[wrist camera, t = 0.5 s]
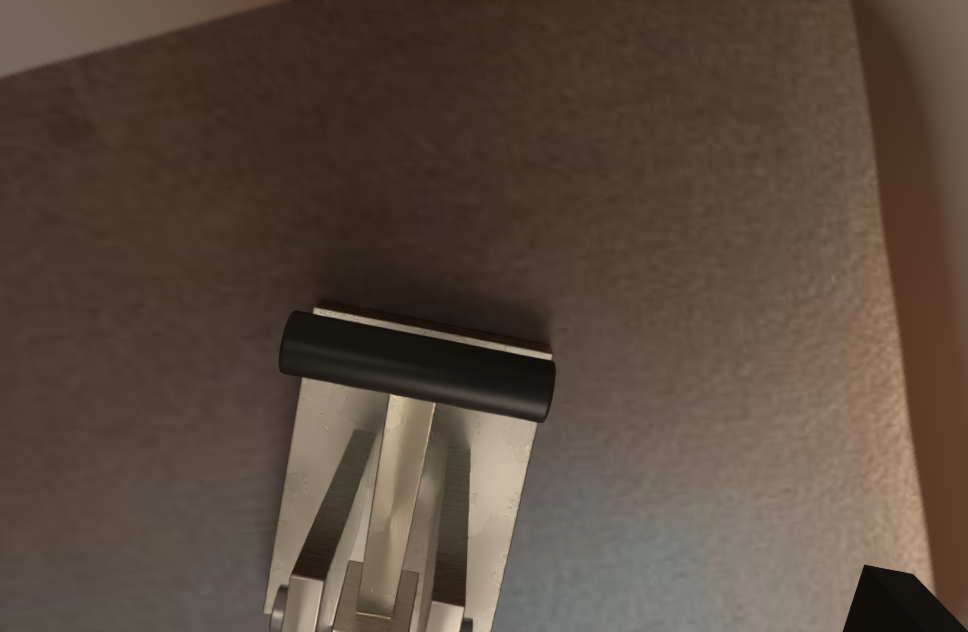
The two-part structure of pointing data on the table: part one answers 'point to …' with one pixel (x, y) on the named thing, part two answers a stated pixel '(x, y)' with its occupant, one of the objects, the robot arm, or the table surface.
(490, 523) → the lever base
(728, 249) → the table surface
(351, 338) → the lever
